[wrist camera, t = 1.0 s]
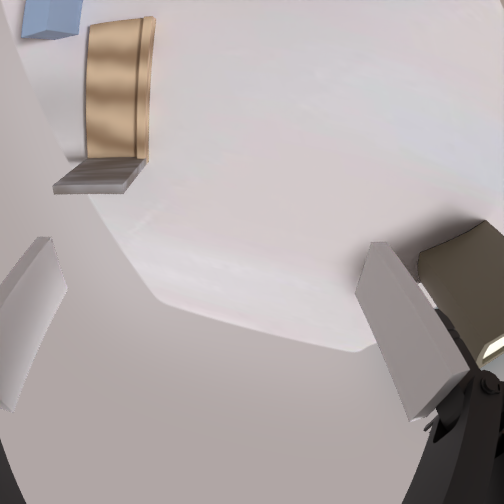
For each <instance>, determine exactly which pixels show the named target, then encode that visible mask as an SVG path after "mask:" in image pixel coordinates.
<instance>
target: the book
mask: <svg viewBox="0 0 504 504" xmlns="http://www.w3.org/2000/svg"><path fill="white" fill-rule="evenodd" d="M418 275H419V278H420V280H421V283H422V284H423V286H424V287H425V289H426V290H427V291H428V293H429V294H430V296H431V297H432V299H433V301H434V302H435V304H436V305H437V307H438V308H439V310H441V311H442V312H443V313H444V314H445V315H446V316H447V317H448V318H449V319H450V321H451V322H452V324H453V325H454V327H455V330H457V332H458V333H459V335H460V336H461V337H460V338H461V339H462V340H463V341H464V343H465V345H466V346H467V348H468V350H469V351H470V353H471V355H472V356H473V358H474V360H475V362H476V363H477V365H478V367H479V369H480V368H481V367H483V366H484V365H486V364H488V363H489V362H491V361H492V360H494V359H496V358H497V357H498V356H500V355H502V354H503V353H504V236H503V235H502V234H501V233H500V232H499V231H498V230H497V229H495V228H494V227H493V226H492V225H491V224H490V223H489V222H488V221H486V220H485V221H484V222H482V223H481V224H479V225H478V226H476V227H475V228H473V229H472V230H470V231H469V232H467V233H465V234H463V235H460V236H458V237H456V238H454V239H452V240H450V241H448V242H445V243H443V244H441V245H438V246H436V247H433V248H431V249H428V250H426V251H423V252H421V253H420V255H419V260H418Z"/></svg>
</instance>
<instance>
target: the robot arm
mask: <svg viewBox="0 0 504 504" xmlns="http://www.w3.org/2000/svg"><path fill="white" fill-rule="evenodd" d="M67 290H68V287H67V285H66V282H65V279H64V276H63V273H62V270H61V267H60V264H59V261H58V257H57V254H56V251H55V247H54V244H53V241H52V237H37V239H36V240H35V241H34V242H33V243H32V245H31V246H30V247H29V248H28V250H27V251H26V252H25V253H24V255H23V256H22V257H21V258H20V259H19V261H18V262H17V263H16V265H15V266H14V267H13V269H12V270H11V271H10V273H9V274H8V275H7V277H6V278H5V279H4V281H3V282H2V284H1V285H0V408H1V409H3V410H6V411H9V412H12V413H13V412H14V410H15V407H16V404H17V401H18V398H19V396H20V392H21V390H22V387H23V385H24V382H25V380H26V377H27V375H28V372H29V370H30V367H31V365H32V362H33V360H34V358H35V355H36V353H37V351H38V348H39V346H40V344H41V342H42V340H43V337H44V335H45V333H46V331H47V329H48V327H49V325H50V323H51V320H52V319H53V317H54V315H55V312H56V311H57V308H58V307H59V305H60V303H61V301H62V299H63V297H64V295H65V293H66V291H67ZM355 295H356V297H357V299H358V302H359V304H360V306H361V308H362V310H363V312H364V314H365V317H366V319H367V321H368V323H369V325H370V328H371V330H372V332H373V334H374V337H375V339H376V341H377V343H378V345H379V348H380V350H381V352H382V355H383V357H384V360H385V362H386V364H387V367H388V369H389V372H390V374H391V376H392V379H393V381H394V384H395V386H396V389H397V391H398V394H399V396H400V399H401V402H402V404H403V407H404V409H405V412H406V415H407V417H408V420H409V422H411V421H415V420H418V419H422V418H425V417H427V416H428V415H429V414H430V413H431V412H432V411H433V410H434V409H435V408H436V410H437V412H438V415H437V416H436V417H435V418H434V419H433V420H432V421H431V422H430V423H429V424H427V425H426V427H425V428H424V431H427V430H428V429H429V428H430V427H431V426H432V428H431V431H430V432H429V433H430V435H429V438H428V441H427V444H426V446H425V449H424V452H423V455H422V457H421V460H420V463H419V465H418V468H417V470H416V473H415V475H414V478H413V480H412V482H411V485H410V487H409V489H408V491H407V493H406V496H405V498H404V500H403V502H402V504H504V382H503V381H500V380H499V379H498V378H497V377H496V375H495V374H493V373H491V372H490V371H486V370H482V371H481V370H480V369H479V367H478V365H477V363H476V362H475V360H474V358H473V356H472V355H471V353H470V351H469V350H468V348H467V346H466V345H465V343H464V341H463V340H462V339H461V338H460V337H461V336H460V335H459V333H458V332H457V330H455V327H454V325H453V324H452V322H451V321H450V319H449V318H448V317H447V316H446V315H445V314H444V313H443V312H442V311H441V310H439V309H434V308H433V307H432V305H431V304H430V302H429V301H428V299H427V298H426V296H425V295H424V293H423V292H422V290H421V289H420V287H419V286H418V284H417V283H416V282H415V280H414V279H413V277H412V276H411V274H410V273H409V272H408V270H407V269H406V267H405V266H404V265H403V263H402V262H401V261H400V259H399V258H398V256H397V255H396V254H395V252H394V251H393V250H392V248H391V247H390V246H389V244H388V243H387V242H371V245H370V248H369V252H368V255H367V258H366V261H365V264H364V268H363V271H362V274H361V277H360V280H359V283H358V286H357V288H356V291H355ZM0 504H26V502H25V500H24V498H23V496H22V494H21V491H20V489H19V487H18V485H17V482H16V480H15V478H14V475H13V473H12V470H11V468H10V465H9V462H8V460H7V457H6V454H5V451H4V449H3V446H2V443H1V440H0Z"/></svg>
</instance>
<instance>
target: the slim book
mask: <svg viewBox="0 0 504 504" xmlns="http://www.w3.org/2000/svg"><path fill="white" fill-rule="evenodd" d="M82 2H83V0H26V5H25V11H24V18H23V25H22V34H21V38H38V39H52V40H56V39H60V38H65V37H69V36H74V35H78V34H79V25H80V16H81V9H82Z"/></svg>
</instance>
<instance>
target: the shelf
mask: <svg viewBox="0 0 504 504" xmlns="http://www.w3.org/2000/svg"><path fill="white" fill-rule="evenodd" d="M155 24H156V19H155V18H154V17H153V16H149V17H144V18H140V19H129V20H121V21H113V22H106V23H100V24H94V25H90V33H89V44H88V57H87V77H86V131H87V151H88V159H86V160H85V161H83V162H82V163H81V164H79V165H78V166H77V167H75V168H74V169H73V170H72V171H70V172H69V173H68V174H66V175H65V176H64V177H63V178H61V179H60V180H59V181H58V182H57V183H55V184H54V185H53V192H54V194H124V192H125V191H126V190H127V188H128V187H129V186H130V185H131V183H132V182H133V181H134V179H135V178H136V177H137V176H138V174H139V173H140V172H141V170H142V169H143V168H144V167H145V165H146V164H147V163H148V162H149V101H150V81H151V66H152V54H153V43H154V33H155Z"/></svg>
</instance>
